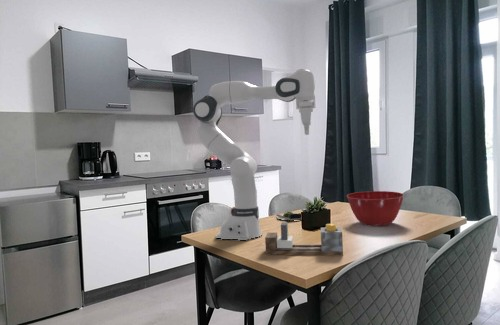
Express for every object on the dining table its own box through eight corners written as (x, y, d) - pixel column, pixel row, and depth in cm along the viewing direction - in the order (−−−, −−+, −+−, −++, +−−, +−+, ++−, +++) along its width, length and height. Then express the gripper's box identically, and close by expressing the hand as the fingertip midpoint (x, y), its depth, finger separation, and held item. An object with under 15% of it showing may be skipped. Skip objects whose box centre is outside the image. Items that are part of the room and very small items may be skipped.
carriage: (277, 248, 143) (276, 225, 142) (278, 243, 150) (277, 221, 149) (292, 248, 142) (291, 225, 141) (293, 243, 149) (292, 221, 148)
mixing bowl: (357, 231, 174) (356, 199, 173) (341, 219, 202) (340, 192, 202) (415, 228, 175) (414, 196, 174) (390, 216, 203) (389, 189, 202)
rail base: (266, 254, 143) (264, 232, 143) (268, 249, 151) (267, 227, 151) (343, 255, 138) (342, 232, 138) (341, 249, 146) (340, 227, 145)
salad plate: (268, 220, 212) (267, 212, 212) (286, 214, 225) (286, 207, 225) (294, 223, 199) (294, 215, 199) (312, 217, 212) (312, 210, 212)
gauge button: (326, 237, 141) (325, 225, 141) (326, 234, 145) (325, 223, 144) (336, 237, 140) (336, 225, 140) (336, 234, 144) (335, 223, 144)
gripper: (299, 107, 178) (300, 135, 178) (298, 102, 158) (299, 134, 158) (312, 106, 177) (313, 134, 177) (312, 101, 156) (313, 133, 157)
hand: (306, 134), depth 168 cm, fingers open, 8 cm apart
